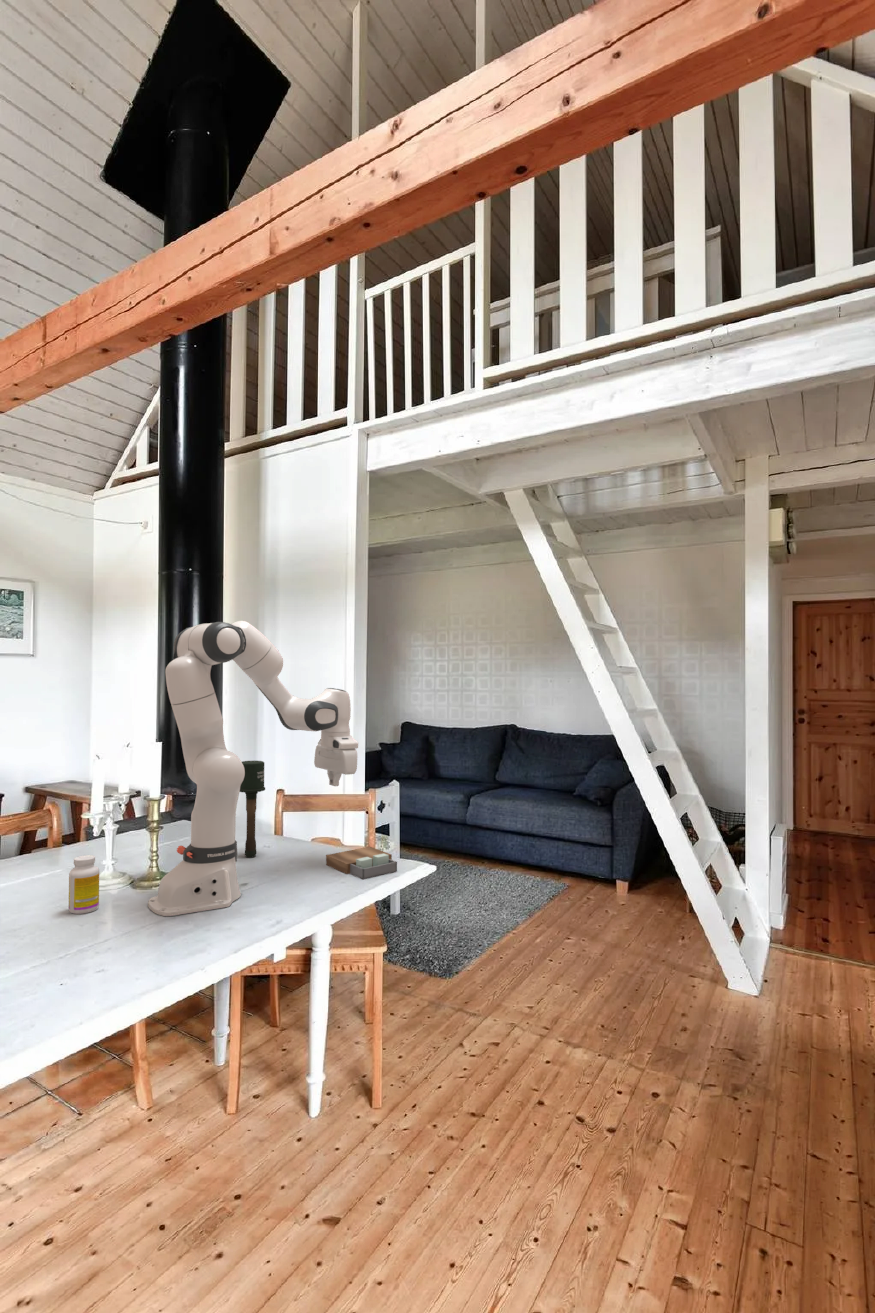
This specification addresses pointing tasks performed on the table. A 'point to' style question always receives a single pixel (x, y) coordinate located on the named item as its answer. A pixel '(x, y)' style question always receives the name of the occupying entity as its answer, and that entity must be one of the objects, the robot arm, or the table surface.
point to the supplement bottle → (84, 885)
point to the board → (351, 858)
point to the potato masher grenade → (252, 800)
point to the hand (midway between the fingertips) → (334, 785)
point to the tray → (373, 870)
